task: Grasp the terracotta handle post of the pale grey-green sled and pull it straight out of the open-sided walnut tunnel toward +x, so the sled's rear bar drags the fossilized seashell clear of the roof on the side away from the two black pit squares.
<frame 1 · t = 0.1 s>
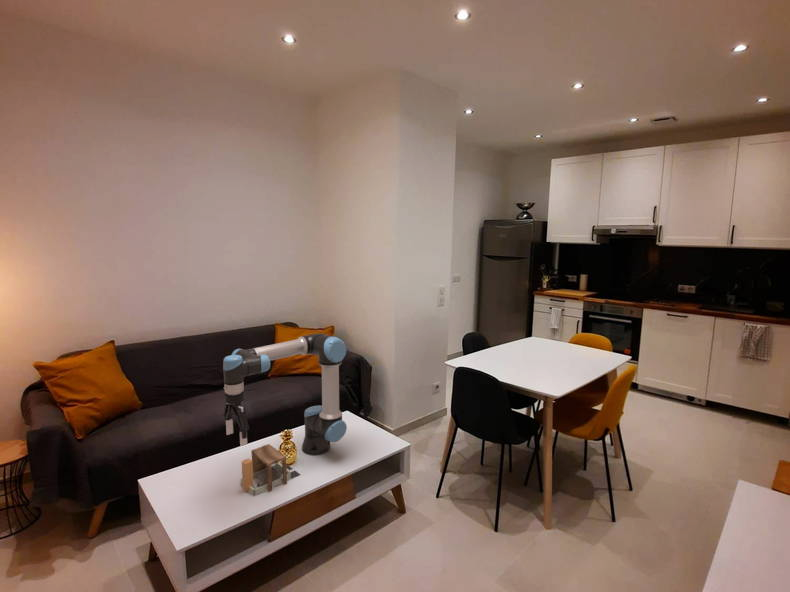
hand: (236, 439, 178), 28 cm above the table, fingers open, 13 cm apart
fossilized seashell: (269, 481, 195), on the table
sled: (264, 468, 193), point 7 cm above the table, slide at 0.0 cm
tunnel: (269, 480, 195), on the table
pits: (289, 471, 203), on the table
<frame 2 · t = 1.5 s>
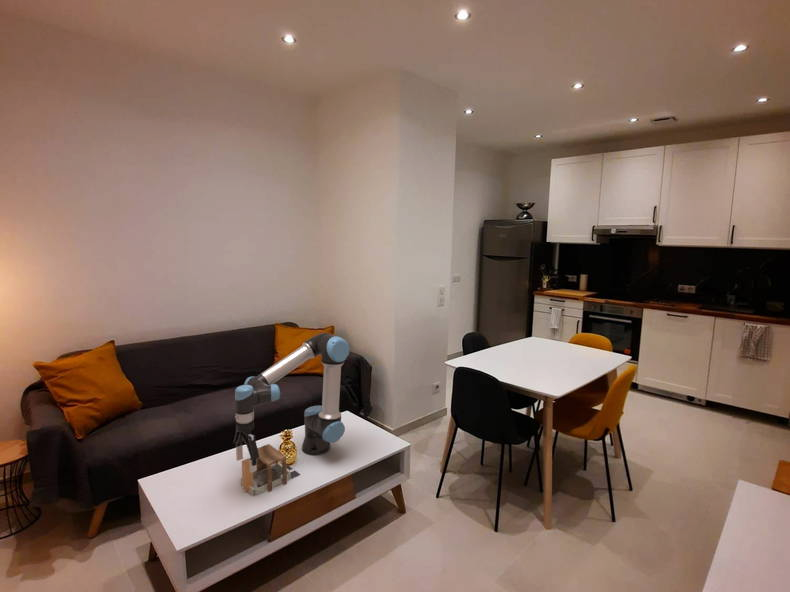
hand: (246, 465, 186), 12 cm above the table, fingers open, 13 cm apart
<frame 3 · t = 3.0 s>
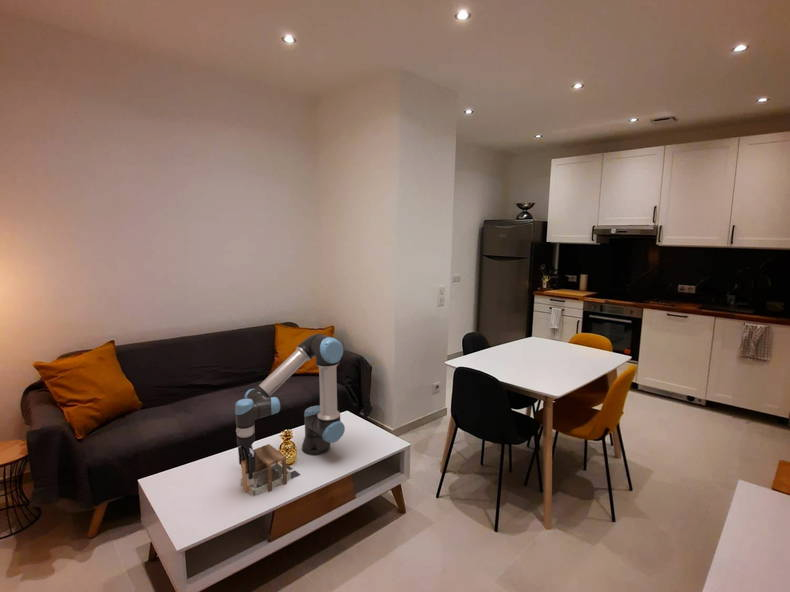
hand: (247, 482, 187), 4 cm above the table, fingers closed on sled, 3 cm apart
sled: (264, 468, 193), point 7 cm above the table, slide at 0.0 cm, touching gripper
everything else where it was.
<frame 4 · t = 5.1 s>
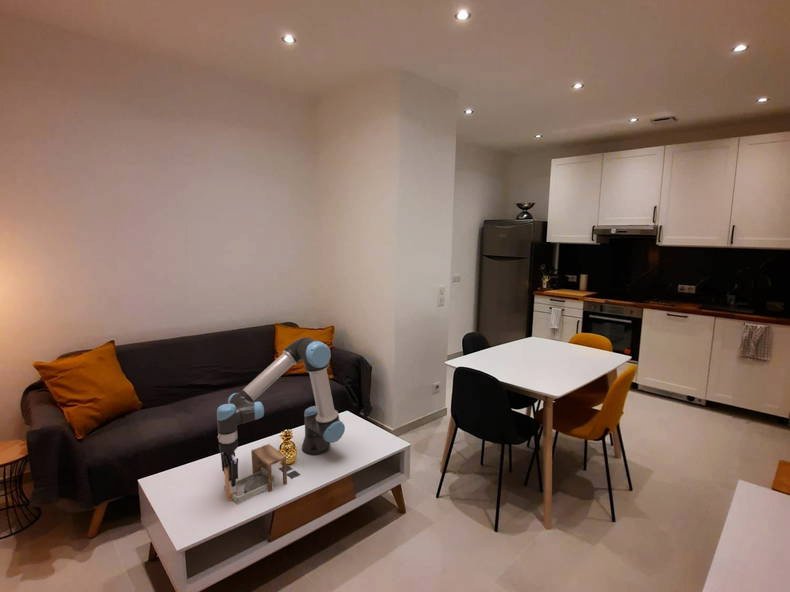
hand: (231, 489, 182), 4 cm above the table, fingers closed on sled, 3 cm apart
fossilized seashell: (256, 488, 190), on the table, touching sled
sled: (248, 474, 187), point 7 cm above the table, slide at 7.7 cm, touching fossilized seashell, gripper
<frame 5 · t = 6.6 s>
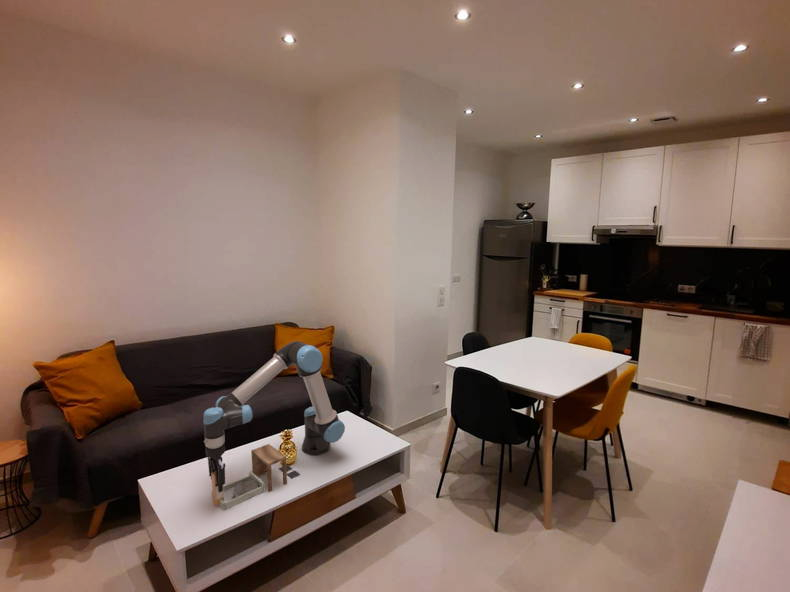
hand: (218, 495, 178), 4 cm above the table, fingers closed on sled, 3 cm apart
fossilized seashell: (245, 493, 186), on the table
sled: (236, 479, 183), point 7 cm above the table, slide at 13.3 cm, touching gripper
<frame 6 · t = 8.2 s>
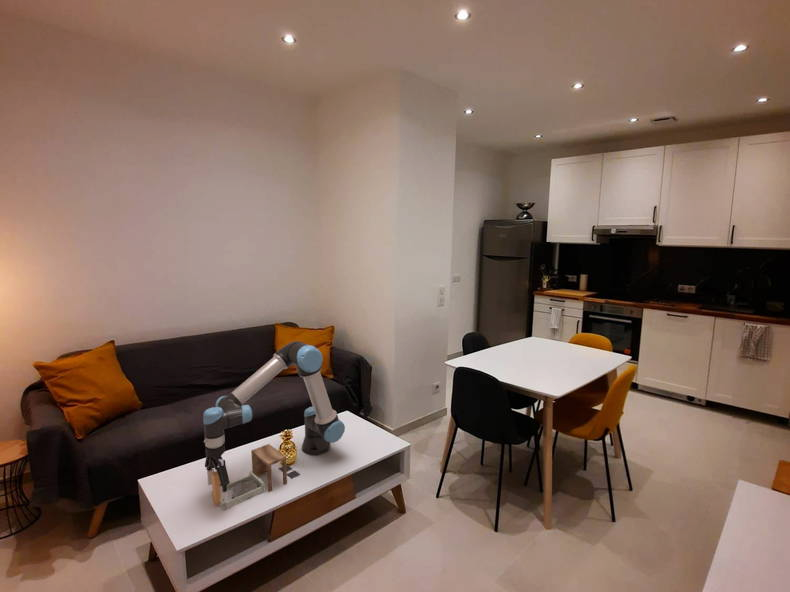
hand: (217, 490, 178), 6 cm above the table, fingers open, 13 cm apart
sled: (236, 480, 183), point 7 cm above the table, slide at 13.3 cm
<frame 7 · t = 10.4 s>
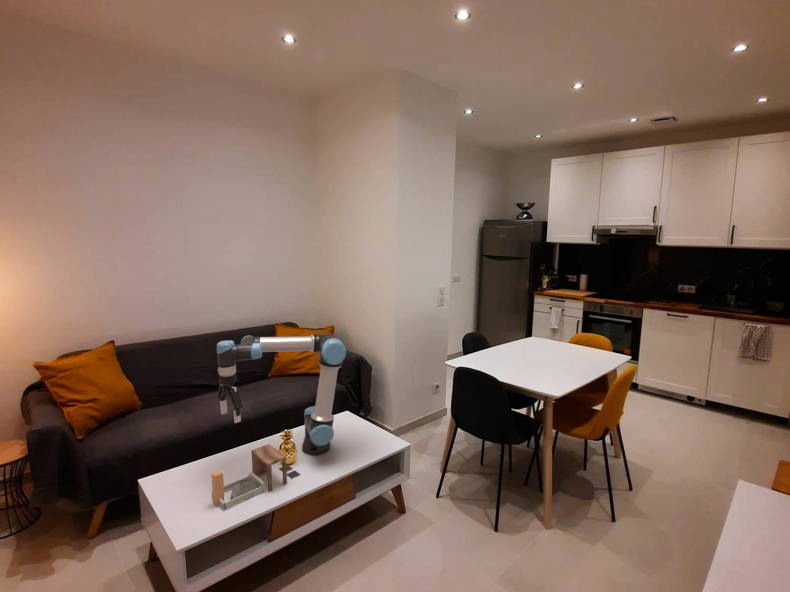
hand: (230, 417, 194), 30 cm above the table, fingers open, 13 cm apart
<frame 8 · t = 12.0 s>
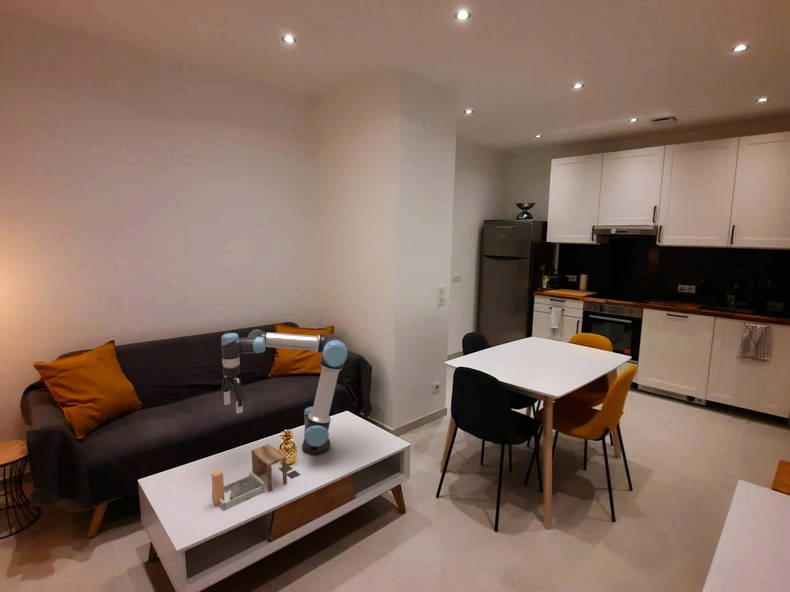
hand: (233, 408, 200), 32 cm above the table, fingers open, 13 cm apart
at the end: fossilized seashell inside the target area (5.8 cm from its centre), on the table; sled slide at 13.3 cm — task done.
